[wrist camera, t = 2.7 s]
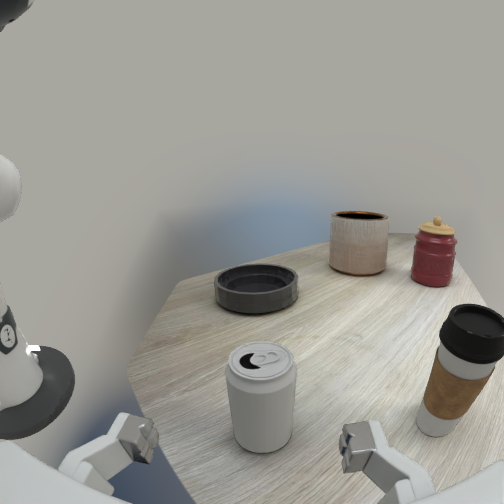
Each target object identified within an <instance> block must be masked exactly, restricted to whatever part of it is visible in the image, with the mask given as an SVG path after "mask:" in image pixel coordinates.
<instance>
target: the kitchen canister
mask: <svg viewBox="0 0 504 504" xmlns="http://www.w3.org/2000/svg"><path fill="white" fill-rule="evenodd" d="M418 228H419V232H418V233H416V234H415V238H416V245H415V246H414V255H413V264H412V267H411V277H412V279H413V280H415V281H416V282H418V283H421V284H423V285H427V286H433V287H442V286H446V285H448V284H449V283H450V281H451V279H452V271H453V265H454V258H455V255H456V252H455V244H456V243H457V240H456V239H455V238H454V234H455V233H456V232H455V231H454V230H453V229H452V228H451V226H449V225H446V224H442V219H441V217H438V216H436V217H435V218H434V220H433V223H432V222H425V223H423V224H422V225H420V226H419V227H418Z"/></svg>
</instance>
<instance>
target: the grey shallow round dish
mask: <svg viewBox="0 0 504 504" xmlns="http://www.w3.org/2000/svg"><path fill="white" fill-rule="evenodd" d="M214 286H215V296H216V300H217V301H218V303H219V304H220V305H221V306H223V307H225V308H227V309H229V310H233V311H236V312H242V313H265V312H271V311H275V310H279V309H282V308H284V307H286V306H288V305H290V304H292V303H293V302H294V301H295V300H296V299H297V295H298V275H297V274H296V272H295V271H293V270H292V269H290V268H287V267H284V266H280V265H274V264H246V265H240V266H235V267H232V268H228V269H226V270H224V271H222V272H220V273H219V274H218V275H217V276H216V277H215V279H214Z"/></svg>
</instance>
